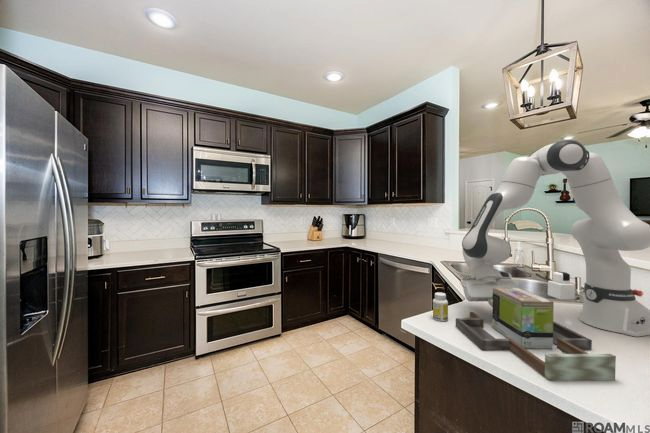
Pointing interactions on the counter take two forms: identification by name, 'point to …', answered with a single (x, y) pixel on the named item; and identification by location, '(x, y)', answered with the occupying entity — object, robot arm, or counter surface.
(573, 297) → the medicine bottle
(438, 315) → the supplement bottle
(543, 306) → the tea box
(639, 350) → the counter surface
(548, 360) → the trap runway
